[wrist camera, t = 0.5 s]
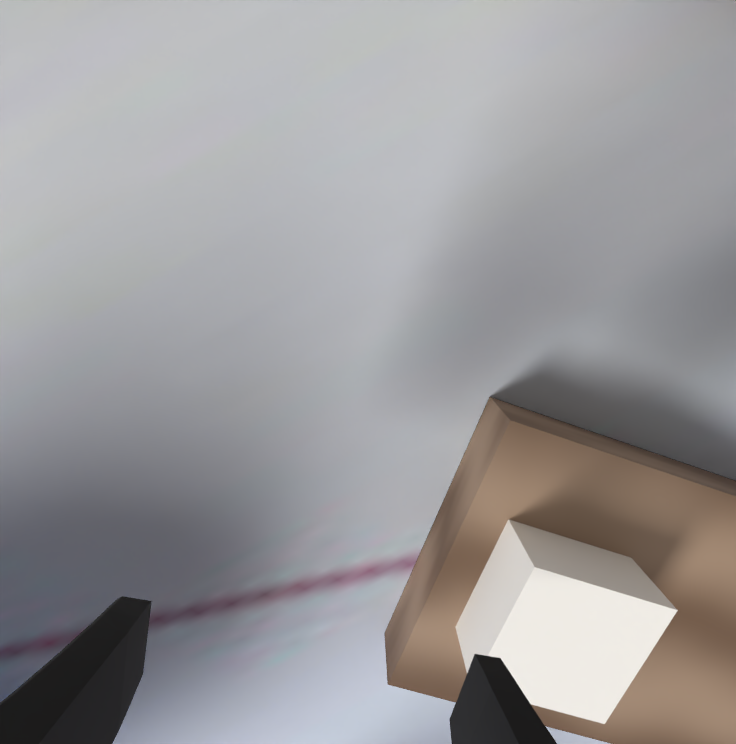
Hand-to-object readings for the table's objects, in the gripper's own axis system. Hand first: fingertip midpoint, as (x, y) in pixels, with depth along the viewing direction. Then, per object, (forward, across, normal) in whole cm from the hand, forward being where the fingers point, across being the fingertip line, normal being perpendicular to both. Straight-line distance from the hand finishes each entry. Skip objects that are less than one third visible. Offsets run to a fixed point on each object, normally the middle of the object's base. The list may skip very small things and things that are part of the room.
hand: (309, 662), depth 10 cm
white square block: (+6, -9, +2) cm, 11 cm away
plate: (+8, -13, +2) cm, 15 cm away
